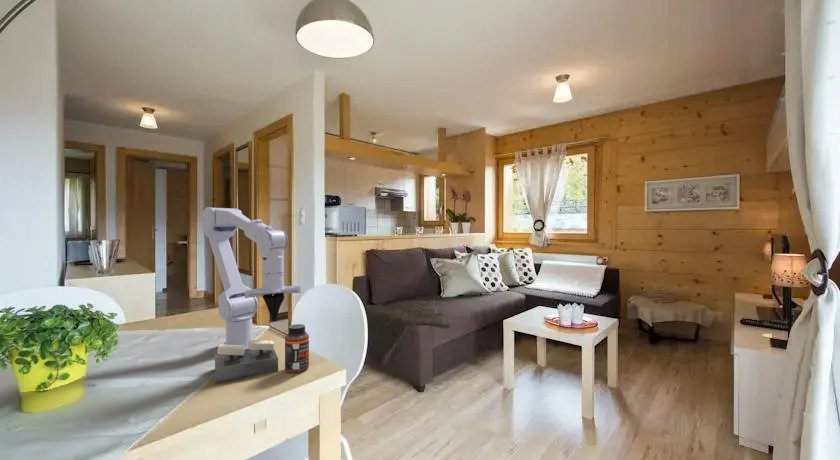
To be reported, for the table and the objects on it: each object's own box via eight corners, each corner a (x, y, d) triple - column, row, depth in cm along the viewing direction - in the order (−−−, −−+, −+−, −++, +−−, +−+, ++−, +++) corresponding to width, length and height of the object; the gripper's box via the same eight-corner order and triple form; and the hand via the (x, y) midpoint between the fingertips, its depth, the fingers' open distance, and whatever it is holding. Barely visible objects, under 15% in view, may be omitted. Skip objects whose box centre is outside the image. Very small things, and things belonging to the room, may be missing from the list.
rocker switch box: (215, 368, 93) (214, 352, 92) (272, 358, 100) (272, 343, 99) (215, 384, 84) (214, 366, 84) (278, 371, 91) (278, 354, 91)
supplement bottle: (301, 374, 89) (301, 330, 89) (280, 373, 90) (279, 328, 90) (313, 365, 95) (313, 323, 94) (293, 363, 96) (292, 322, 96)
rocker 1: (217, 350, 91) (219, 344, 92) (242, 351, 94) (244, 345, 95) (217, 354, 89) (219, 347, 89) (243, 355, 92) (245, 349, 92)
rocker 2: (247, 346, 95) (248, 340, 95) (271, 346, 98) (272, 340, 98) (248, 349, 92) (249, 343, 92) (272, 349, 95) (274, 343, 95)
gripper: (245, 276, 93) (246, 328, 93) (302, 272, 100) (303, 320, 101) (243, 273, 99) (244, 321, 99) (297, 269, 106) (297, 314, 107)
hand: (273, 320), depth 100 cm, fingers closed
